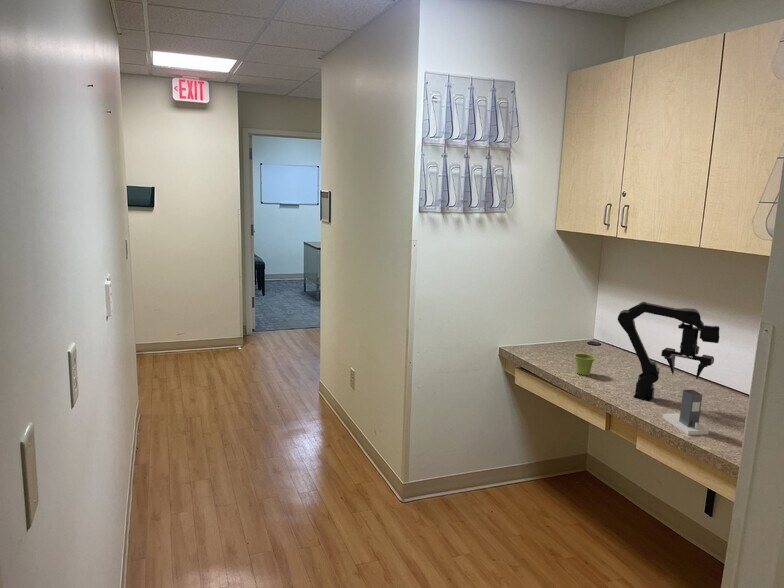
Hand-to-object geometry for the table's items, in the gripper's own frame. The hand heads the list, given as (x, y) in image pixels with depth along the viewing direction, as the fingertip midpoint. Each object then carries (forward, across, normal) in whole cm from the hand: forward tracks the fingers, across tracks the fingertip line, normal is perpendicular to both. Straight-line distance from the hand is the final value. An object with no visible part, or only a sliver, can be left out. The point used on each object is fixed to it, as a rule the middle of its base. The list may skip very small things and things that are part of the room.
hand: (684, 376), depth 238 cm
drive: (+10, -9, +25) cm, 29 cm away
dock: (+12, -8, +24) cm, 28 cm away
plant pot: (+12, +46, -8) cm, 48 cm away
